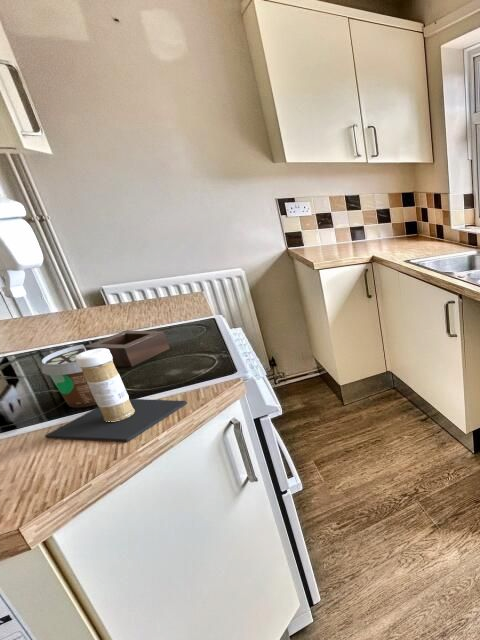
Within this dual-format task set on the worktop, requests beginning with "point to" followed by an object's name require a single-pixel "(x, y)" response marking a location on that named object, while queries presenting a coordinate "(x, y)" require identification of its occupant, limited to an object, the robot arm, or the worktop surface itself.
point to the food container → (69, 376)
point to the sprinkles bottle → (105, 383)
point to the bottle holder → (132, 346)
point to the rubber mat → (117, 422)
